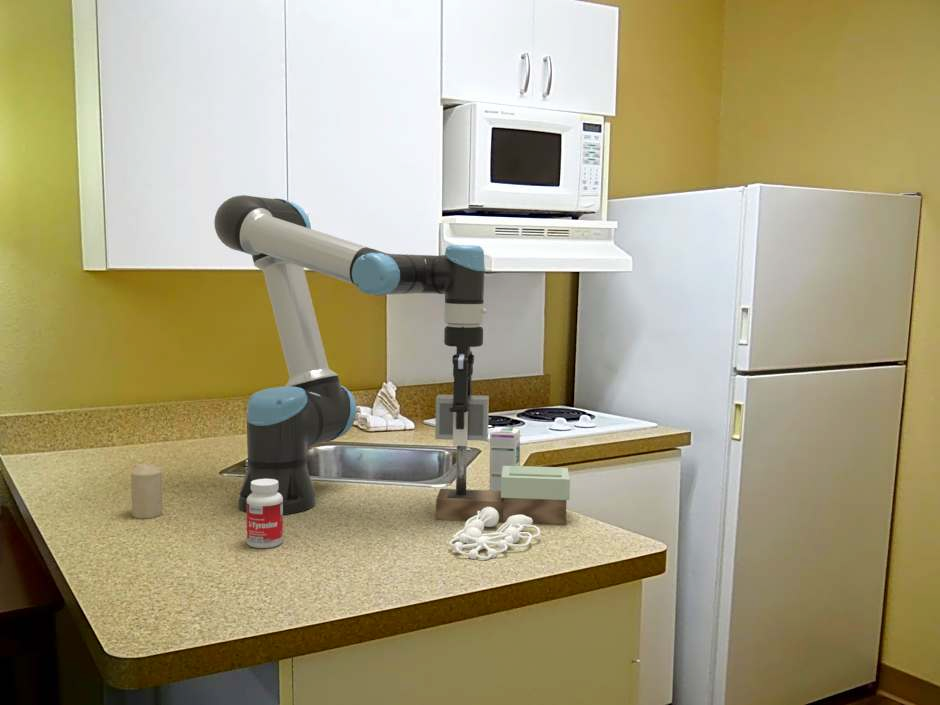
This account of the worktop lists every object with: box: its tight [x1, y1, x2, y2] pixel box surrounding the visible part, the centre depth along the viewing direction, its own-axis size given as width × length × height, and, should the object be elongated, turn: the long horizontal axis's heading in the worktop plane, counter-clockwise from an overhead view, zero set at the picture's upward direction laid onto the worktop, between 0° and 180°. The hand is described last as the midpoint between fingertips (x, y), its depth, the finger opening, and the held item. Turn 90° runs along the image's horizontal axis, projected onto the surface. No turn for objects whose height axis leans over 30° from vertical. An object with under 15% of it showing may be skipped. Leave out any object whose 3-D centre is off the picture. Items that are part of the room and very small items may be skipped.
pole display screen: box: [434, 394, 490, 495], centre depth 165 cm, size 10×5×19 cm, turn 86°
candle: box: [130, 462, 163, 520], centre depth 162 cm, size 6×6×10 cm
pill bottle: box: [246, 479, 284, 549], centre depth 147 cm, size 6×6×11 cm
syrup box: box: [489, 426, 521, 491], centre depth 180 cm, size 6×6×14 cm
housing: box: [435, 488, 567, 525], centre depth 166 cm, size 25×8×5 cm, turn 86°
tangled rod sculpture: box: [448, 507, 541, 560], centre depth 149 cm, size 19×14×4 cm
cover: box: [501, 465, 571, 501], centre depth 165 cm, size 13×9×4 cm
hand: (461, 440), depth 165 cm, fingers open, 9 cm apart
